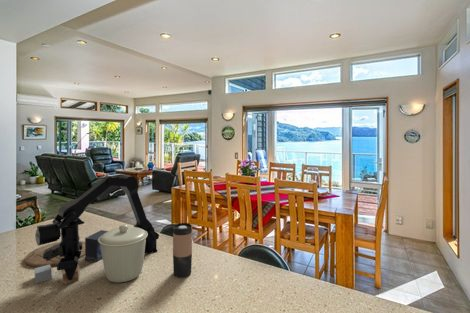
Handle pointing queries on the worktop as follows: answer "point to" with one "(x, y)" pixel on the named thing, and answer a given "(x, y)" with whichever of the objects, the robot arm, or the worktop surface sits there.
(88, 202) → the robot arm
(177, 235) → the travel mug
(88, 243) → the small box
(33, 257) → the trivet
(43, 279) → the slate block
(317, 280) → the worktop surface
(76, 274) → the walnut block
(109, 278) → the canister
